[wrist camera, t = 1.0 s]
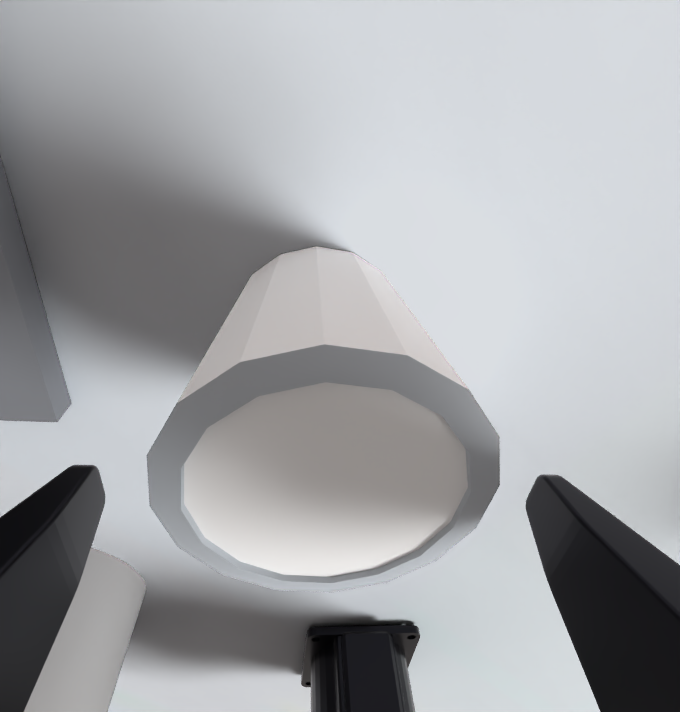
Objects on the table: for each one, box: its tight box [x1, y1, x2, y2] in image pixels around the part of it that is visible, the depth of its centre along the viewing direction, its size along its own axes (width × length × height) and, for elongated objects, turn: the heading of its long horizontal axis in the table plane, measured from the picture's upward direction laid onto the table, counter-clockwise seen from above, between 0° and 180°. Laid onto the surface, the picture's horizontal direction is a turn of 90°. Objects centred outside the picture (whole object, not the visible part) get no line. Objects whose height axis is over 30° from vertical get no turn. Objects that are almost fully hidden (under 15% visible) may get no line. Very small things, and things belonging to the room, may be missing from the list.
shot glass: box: [147, 246, 500, 592], centre depth 11 cm, size 7×7×7 cm
